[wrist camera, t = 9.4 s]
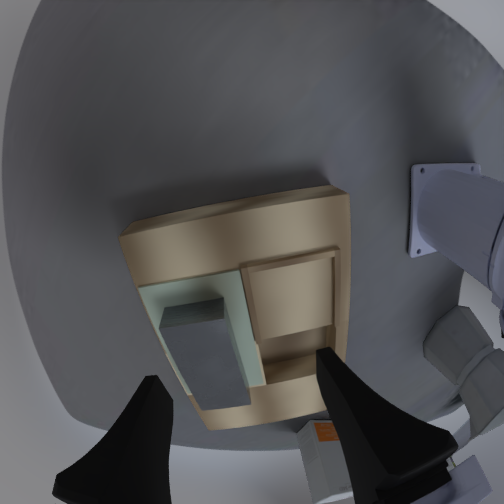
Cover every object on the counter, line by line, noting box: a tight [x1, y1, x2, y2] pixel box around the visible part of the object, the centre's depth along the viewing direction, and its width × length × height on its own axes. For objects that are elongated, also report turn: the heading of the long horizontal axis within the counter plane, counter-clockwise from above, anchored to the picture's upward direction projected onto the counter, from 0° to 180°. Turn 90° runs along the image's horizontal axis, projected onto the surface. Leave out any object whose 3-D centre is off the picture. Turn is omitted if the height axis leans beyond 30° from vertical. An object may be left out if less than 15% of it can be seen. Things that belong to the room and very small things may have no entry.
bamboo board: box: [118, 185, 351, 430], centre depth 21 cm, size 14×22×3 cm, turn 9°
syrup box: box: [447, 456, 456, 472], centre depth 58 cm, size 6×6×14 cm
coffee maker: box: [423, 305, 504, 442], centre depth 18 cm, size 15×9×18 cm, turn 165°
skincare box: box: [297, 420, 354, 504], centre depth 26 cm, size 6×4×12 cm
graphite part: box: [159, 297, 251, 411], centre depth 18 cm, size 4×9×2 cm, turn 10°
